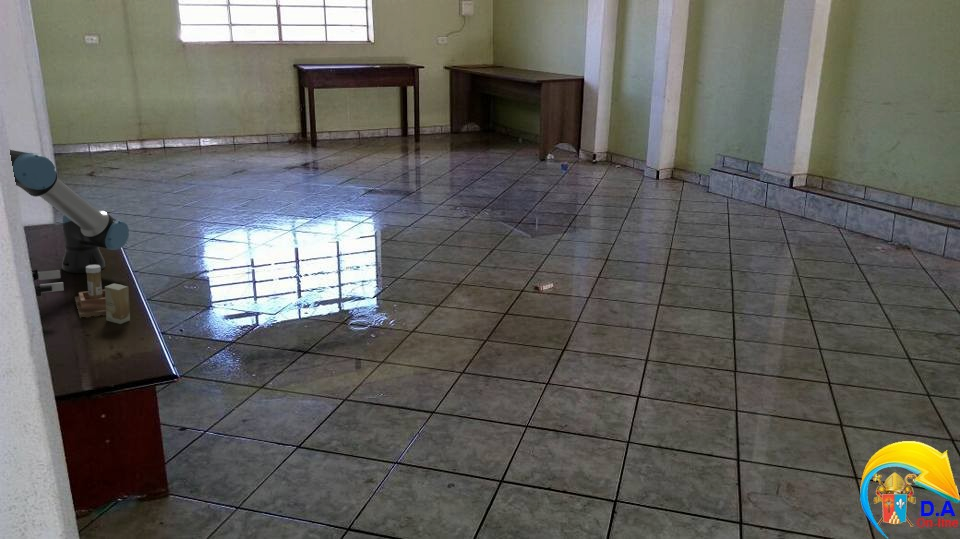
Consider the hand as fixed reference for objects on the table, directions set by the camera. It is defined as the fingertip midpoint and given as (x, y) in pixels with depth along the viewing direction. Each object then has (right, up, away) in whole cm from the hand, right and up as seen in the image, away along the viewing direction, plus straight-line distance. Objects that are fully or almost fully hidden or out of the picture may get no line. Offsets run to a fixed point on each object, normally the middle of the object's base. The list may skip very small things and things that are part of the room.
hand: (61, 279), depth 249 cm
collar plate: (+7, -10, +8) cm, 15 cm away
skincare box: (+20, -14, -1) cm, 24 cm away
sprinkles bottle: (+7, -8, +8) cm, 14 cm away
